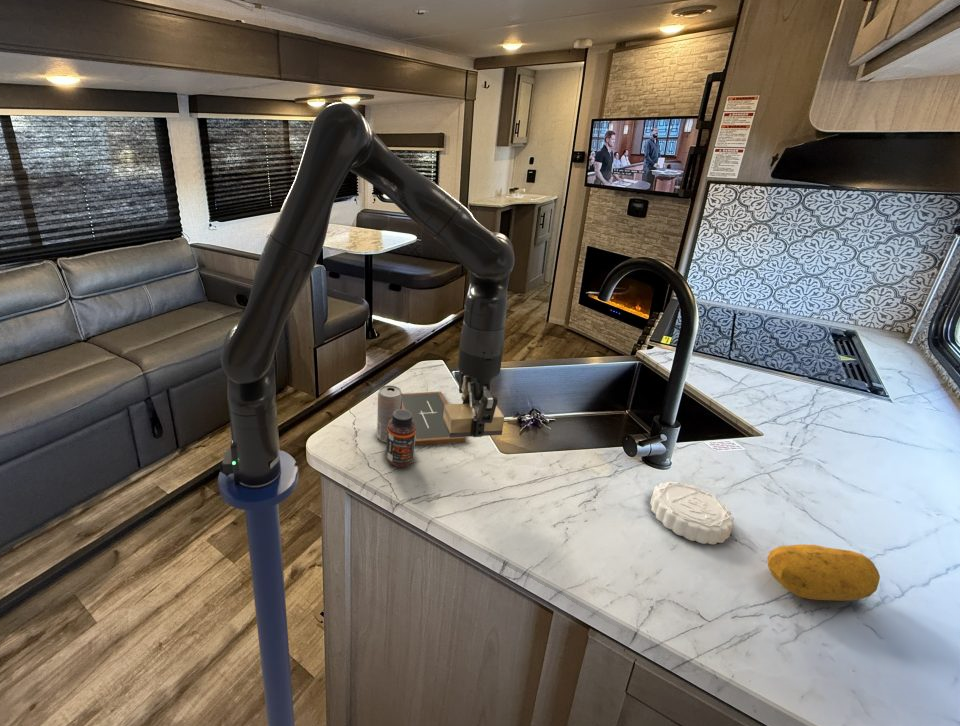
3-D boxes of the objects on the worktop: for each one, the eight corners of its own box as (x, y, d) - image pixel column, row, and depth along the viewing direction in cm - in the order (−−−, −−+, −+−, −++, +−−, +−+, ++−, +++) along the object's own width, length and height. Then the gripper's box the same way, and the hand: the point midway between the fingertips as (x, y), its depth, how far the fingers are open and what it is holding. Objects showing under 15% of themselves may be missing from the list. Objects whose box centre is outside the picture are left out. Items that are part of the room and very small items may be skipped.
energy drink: (401, 431, 107) (403, 386, 103) (398, 445, 103) (400, 398, 98) (379, 427, 109) (380, 383, 104) (374, 441, 104) (375, 395, 100)
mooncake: (699, 554, 76) (705, 538, 75) (635, 503, 87) (639, 488, 85) (745, 533, 80) (751, 517, 79) (678, 487, 91) (683, 472, 90)
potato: (745, 564, 74) (759, 531, 72) (841, 572, 73) (858, 538, 71) (779, 607, 68) (795, 572, 65) (885, 616, 67) (906, 581, 64)
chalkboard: (413, 445, 102) (414, 441, 102) (396, 397, 121) (396, 393, 121) (465, 441, 104) (466, 437, 103) (440, 395, 122) (440, 391, 122)
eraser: (450, 437, 85) (451, 419, 83) (442, 422, 89) (444, 404, 88) (501, 435, 86) (504, 416, 84) (492, 419, 90) (494, 402, 89)
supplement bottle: (390, 470, 95) (391, 424, 91) (382, 451, 100) (384, 407, 96) (417, 466, 96) (420, 420, 92) (409, 448, 102) (411, 404, 98)
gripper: (449, 330, 88) (442, 406, 94) (474, 366, 74) (464, 452, 80) (487, 329, 89) (478, 405, 95) (518, 364, 75) (505, 449, 81)
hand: (471, 426), depth 87 cm, fingers closed on eraser, 5 cm apart
